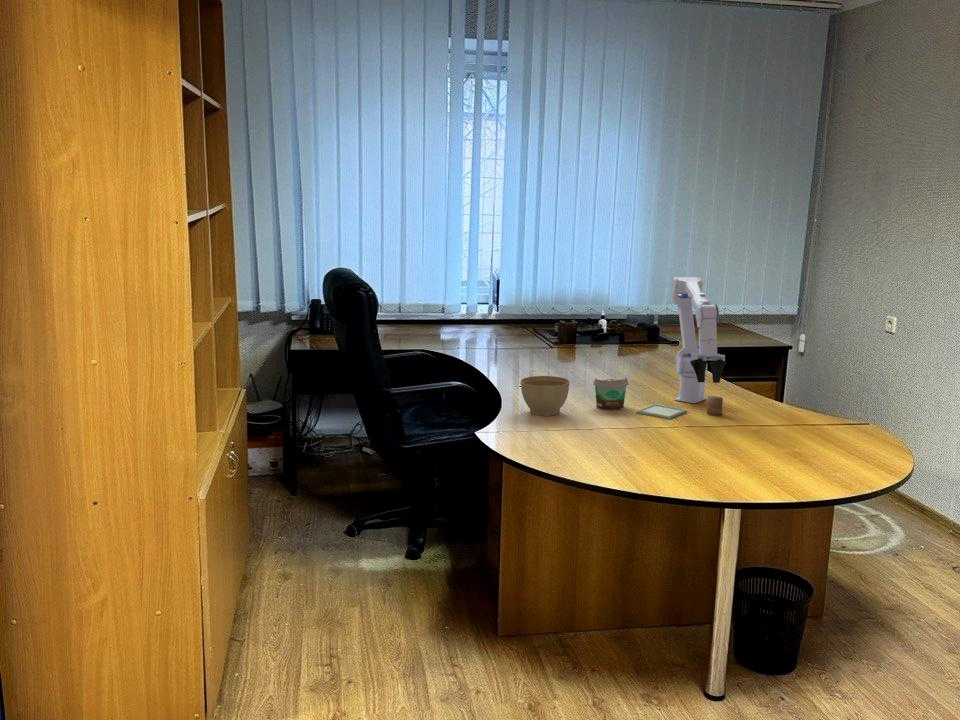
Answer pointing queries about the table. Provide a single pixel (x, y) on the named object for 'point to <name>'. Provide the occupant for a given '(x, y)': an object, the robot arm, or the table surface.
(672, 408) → the coaster
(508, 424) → the table surface
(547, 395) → the planter bowl
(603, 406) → the food container
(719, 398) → the walnut cylinder
